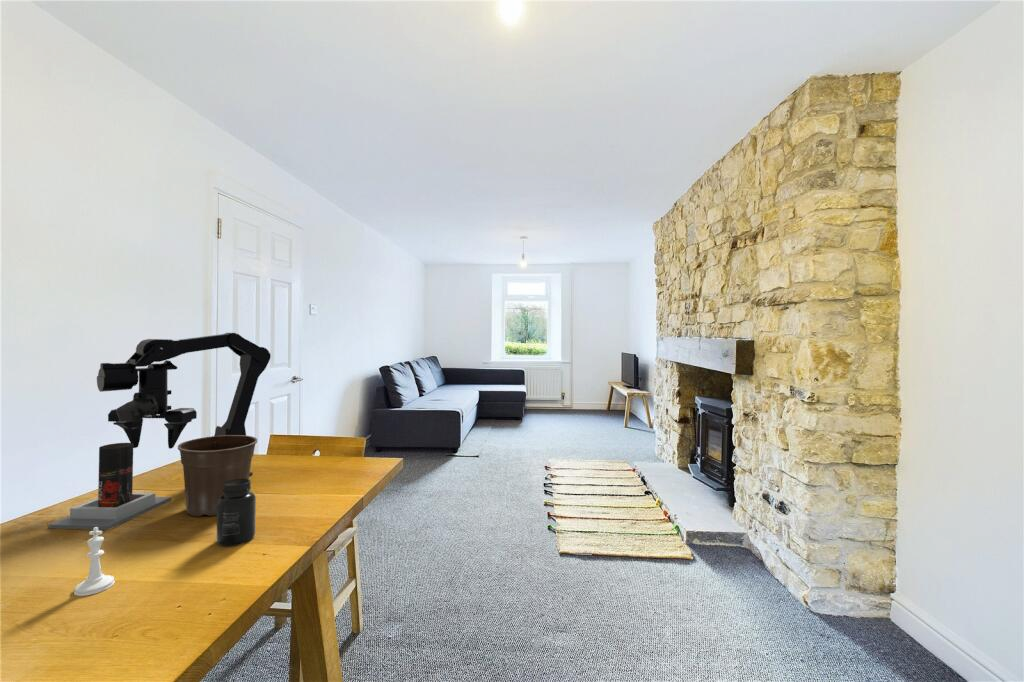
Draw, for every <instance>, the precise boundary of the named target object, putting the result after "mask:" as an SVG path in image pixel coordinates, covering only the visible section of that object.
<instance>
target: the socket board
mask: <svg viewBox="0 0 1024 682" xmlns="http://www.w3.org/2000/svg"><path fill="white" fill-rule="evenodd" d="M171 501H172V496H171V497H170V496H156V492H137V491H136V492H135V491H134V492H133V491H132V501H130V502H128V503H125V504H123V505H121V506H118V507H98V497H97V498H93V499H92V500H89V501H86V502H83V503H81V504H78V505H75V506H73V507H70V508H69V516H65V517H63V518H61V519H59V520H56V521H53V522H51V523H48V524H47V528H48V529H60V530H61V529H62V530H63V529H64V530H68V529H69V530H93V528H95V527H98V531H109V530H110V529H112V528H115V527H117V526H119V525H122V524H124V523H126V522H128V521H130V520H132V519H134V518H137V517H138V516H140V515H142V514H145V513H147V512H149V511H151V510H153V509H156V508H158V507H159V506H162V505H164V504H166V503H168V502H171Z"/></svg>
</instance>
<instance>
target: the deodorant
mask: <svg viewBox="0 0 1024 682" xmlns="http://www.w3.org/2000/svg"><path fill="white" fill-rule="evenodd" d="M133 472H134V448H133V443H130V442H118V443H117V442H116V443H115V442H114V443H110V444H109V443H108V444H103V445H101V446H99V449H98V485H97V486H98V489H97V490H98V491H97V494H98V495H97V498H98V507H118V506H121V505H123V504H125V503H128V502H130V501H132V492H133V487H134V486H133V485H134V484H133V483H134V482H133V479H134V473H133Z"/></svg>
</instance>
